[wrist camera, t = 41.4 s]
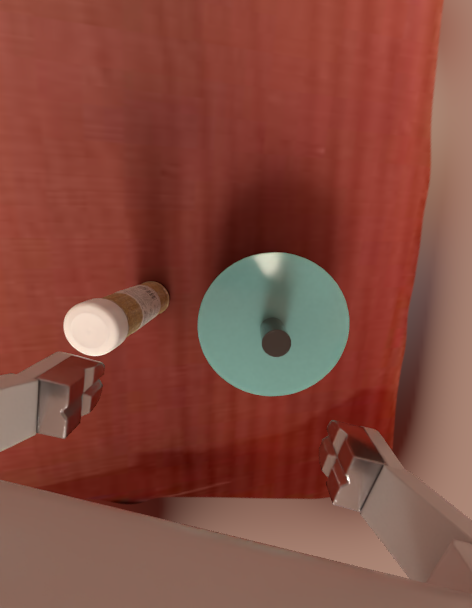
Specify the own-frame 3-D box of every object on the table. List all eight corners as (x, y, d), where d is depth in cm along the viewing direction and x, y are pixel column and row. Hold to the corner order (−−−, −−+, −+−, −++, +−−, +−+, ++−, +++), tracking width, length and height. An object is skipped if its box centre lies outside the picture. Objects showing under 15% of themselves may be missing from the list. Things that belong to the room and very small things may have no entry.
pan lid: (218, 234, 24) (210, 230, 19) (367, 274, 25) (398, 280, 20) (186, 370, 28) (173, 397, 23) (317, 404, 28) (332, 438, 23)
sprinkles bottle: (130, 293, 32) (48, 323, 19) (156, 273, 31) (90, 291, 18) (151, 320, 33) (87, 368, 20) (177, 302, 32) (129, 338, 19)
